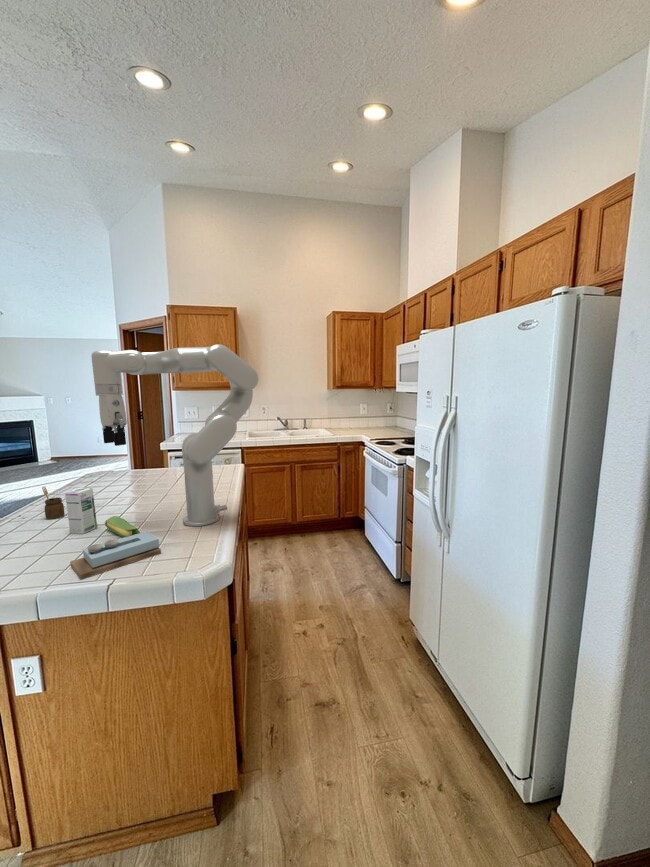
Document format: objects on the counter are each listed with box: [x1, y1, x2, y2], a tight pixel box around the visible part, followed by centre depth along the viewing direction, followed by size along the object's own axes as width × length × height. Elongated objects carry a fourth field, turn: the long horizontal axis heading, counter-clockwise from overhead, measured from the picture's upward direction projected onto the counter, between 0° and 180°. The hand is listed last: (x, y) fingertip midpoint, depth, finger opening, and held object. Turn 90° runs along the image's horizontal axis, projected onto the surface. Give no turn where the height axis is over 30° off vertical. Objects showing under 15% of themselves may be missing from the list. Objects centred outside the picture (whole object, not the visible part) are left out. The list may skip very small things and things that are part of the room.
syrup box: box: [64, 487, 98, 535], centre depth 125 cm, size 6×6×14 cm
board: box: [69, 539, 162, 580], centre depth 103 cm, size 20×11×5 cm, turn 135°
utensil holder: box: [41, 486, 65, 520], centre depth 140 cm, size 6×6×12 cm
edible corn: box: [104, 515, 141, 538], centre depth 122 cm, size 5×20×5 cm
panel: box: [82, 531, 160, 568], centre depth 104 cm, size 17×9×2 cm, turn 135°
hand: (115, 443), depth 119 cm, fingers open, 9 cm apart
